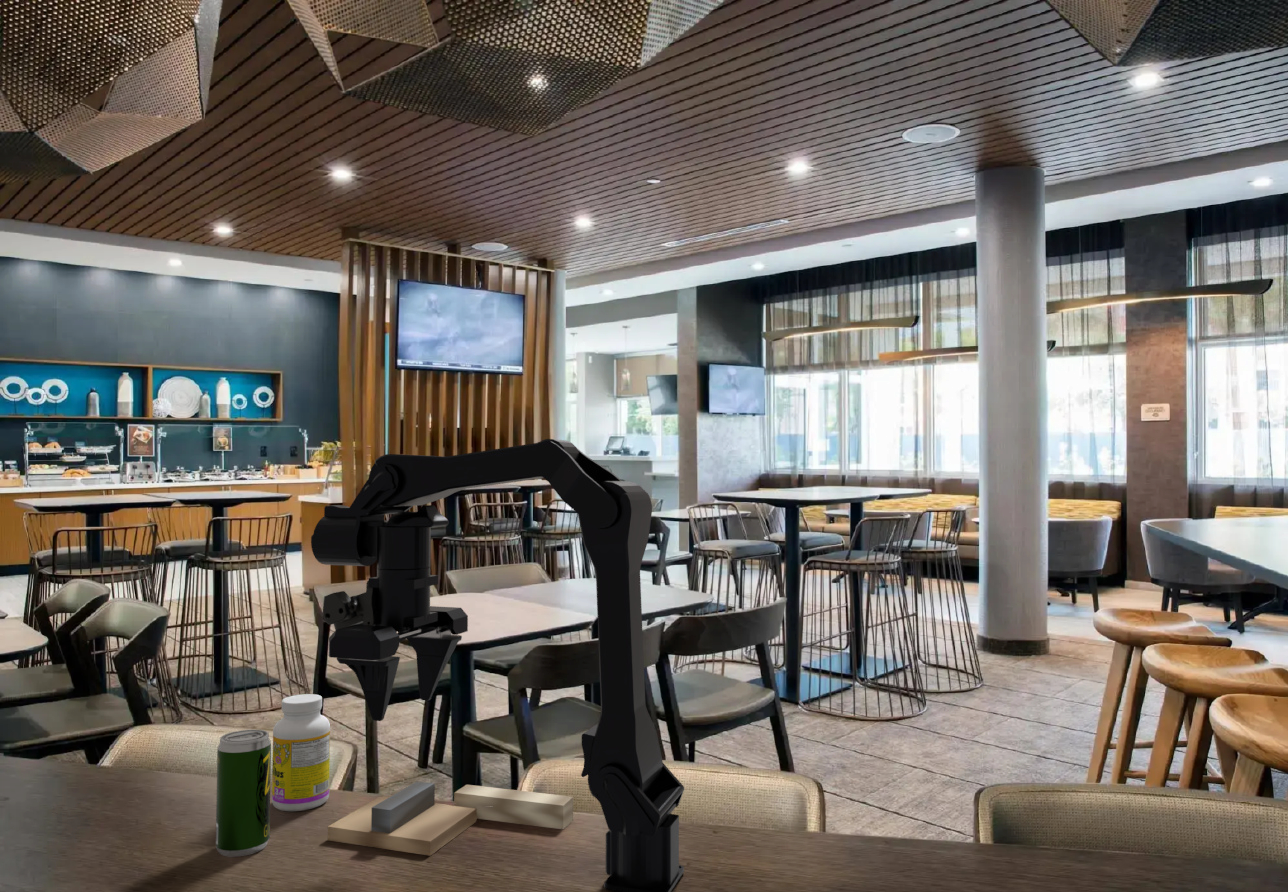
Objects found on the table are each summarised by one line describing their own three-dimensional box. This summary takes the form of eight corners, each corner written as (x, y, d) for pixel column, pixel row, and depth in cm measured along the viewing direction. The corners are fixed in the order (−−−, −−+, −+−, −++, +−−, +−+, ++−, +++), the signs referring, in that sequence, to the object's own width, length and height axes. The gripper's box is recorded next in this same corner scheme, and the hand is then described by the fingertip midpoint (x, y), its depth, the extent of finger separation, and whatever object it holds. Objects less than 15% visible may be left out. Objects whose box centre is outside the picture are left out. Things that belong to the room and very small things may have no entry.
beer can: (219, 862, 94) (221, 745, 94) (211, 844, 98) (213, 733, 99) (274, 850, 97) (275, 737, 97) (264, 833, 101) (265, 726, 102)
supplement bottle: (270, 798, 112) (272, 694, 113) (326, 790, 115) (327, 689, 116) (273, 816, 106) (274, 707, 107) (332, 808, 109) (333, 701, 110)
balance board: (476, 821, 105) (476, 786, 105) (430, 855, 95) (430, 817, 95) (380, 808, 109) (381, 775, 109) (327, 840, 99) (328, 803, 100)
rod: (573, 822, 105) (573, 796, 106) (563, 832, 103) (563, 805, 103) (466, 809, 110) (466, 784, 110) (454, 818, 107) (454, 792, 107)
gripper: (390, 558, 111) (389, 685, 110) (285, 573, 93) (283, 725, 93) (470, 560, 107) (469, 692, 107) (377, 577, 90) (376, 735, 89)
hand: (402, 709), depth 99 cm, fingers open, 9 cm apart
